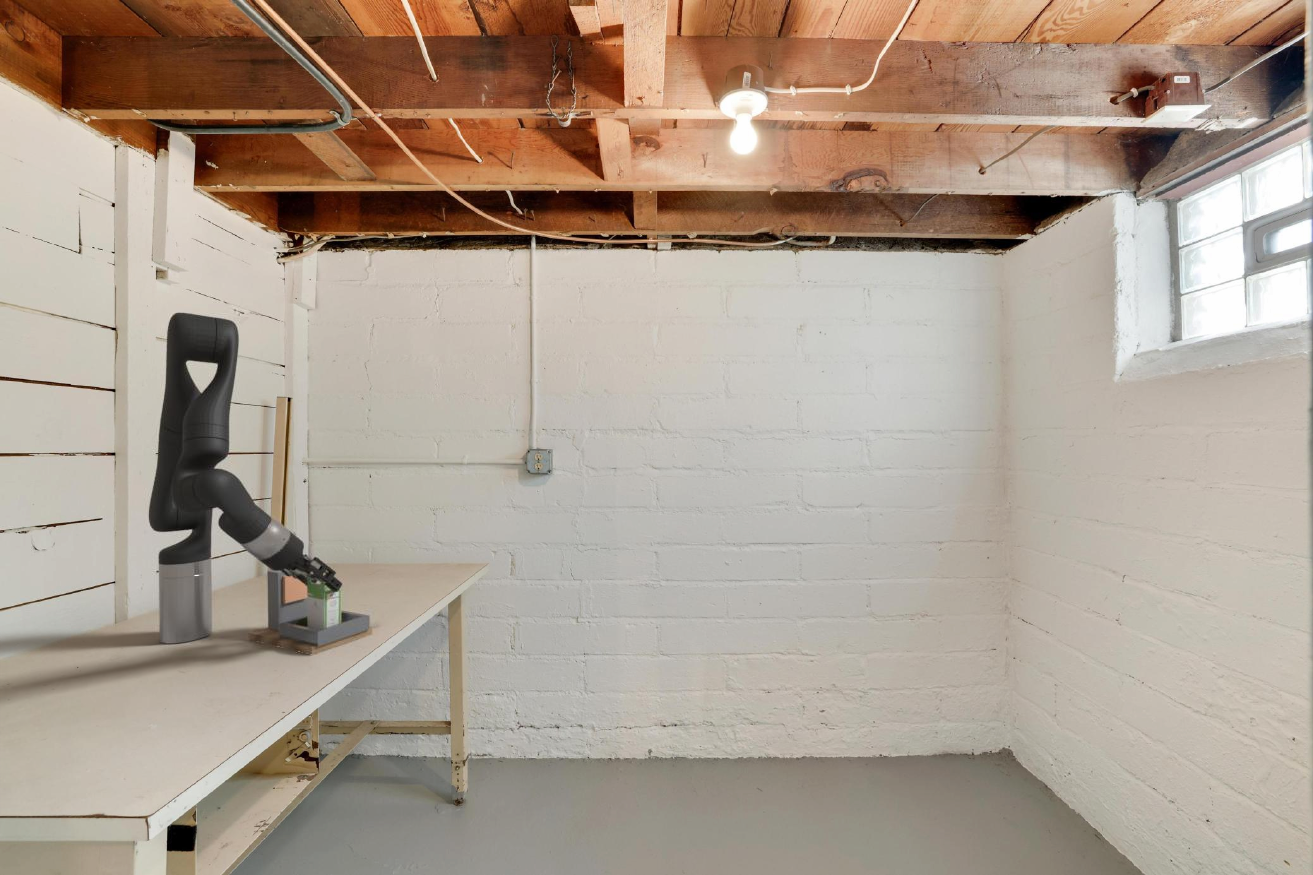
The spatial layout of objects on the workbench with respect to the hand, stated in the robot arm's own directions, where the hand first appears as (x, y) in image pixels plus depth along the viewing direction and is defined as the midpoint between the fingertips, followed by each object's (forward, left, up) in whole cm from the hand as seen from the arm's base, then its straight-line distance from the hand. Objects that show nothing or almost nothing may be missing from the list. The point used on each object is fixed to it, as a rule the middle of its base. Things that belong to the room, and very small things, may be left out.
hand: (326, 586), depth 128 cm
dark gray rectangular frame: (-3, 0, -10) cm, 11 cm away
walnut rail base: (-5, 0, -12) cm, 13 cm away
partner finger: (-12, 0, -10) cm, 16 cm away
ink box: (0, -1, -10) cm, 10 cm away
